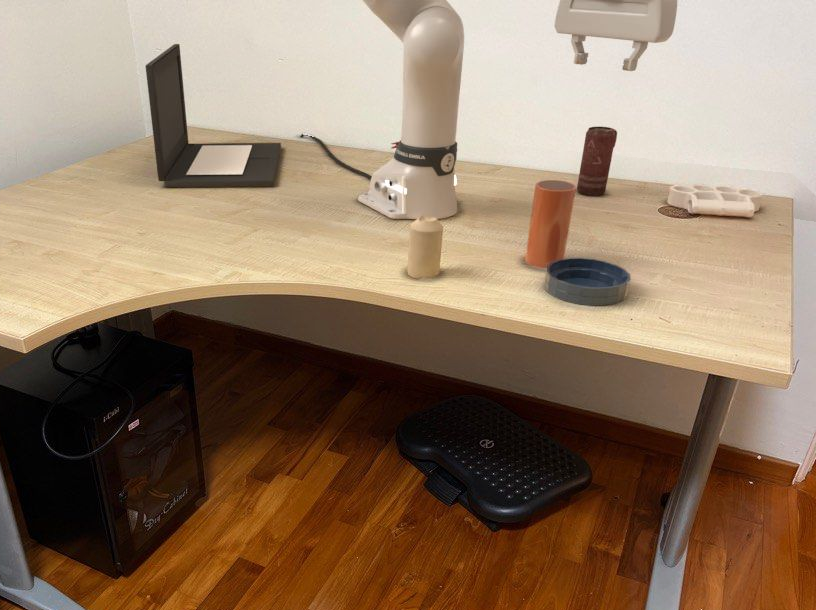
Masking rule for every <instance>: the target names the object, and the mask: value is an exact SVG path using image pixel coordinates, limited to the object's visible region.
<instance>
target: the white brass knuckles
mask: <svg viewBox="0 0 816 610" xmlns="http://www.w3.org/2000/svg"><path fill="white" fill-rule="evenodd" d="M763 196H764V193H763V192H762V191H760V190H758V189H753V188H744V187H743V188H741V187H735V186H731V185H724V184H705V183H695V184H673V185H671V186H670V188H669V191H668V197H667V200H666V202H667V204H668V205H669V206H672V207H674V208H677V209H684V210H687V213H689V214H691V215H695V214H698V215H699V214H700V215H712V216H719V217H722V216H729V217H741V218H743V217H744V218H748V219H749V218H752V217H754V214H755V212H758V211H759V210H760V207H761V204H762V200H763V198H764V197H763Z"/></svg>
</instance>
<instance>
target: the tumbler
mask: <svg viewBox="0 0 816 610" xmlns="http://www.w3.org/2000/svg"><path fill="white" fill-rule="evenodd" d="M576 191H577V185H576V184H574V183H572V182H569V181H565V180H557V179H545V180H540V181H537V182H536V183H535V185H534V193H533V200H532V206H531V207H532V208H531V214H530V220H529V228H528V229H529V230H528V236H527V243H526V249H525V250H526V251H525V257H524V261H525V263H527V264H528V265H530V266H532V267H536V268H541V269H546V268H547V266H548V265H549V264H550V263H551V262H554V261H556V260H559V259H565V258H566V257H565V256H566V251H567V245H568V238H569V232H570V228H571V227H570V226H571V220H572V216H573V214H572V213H573V209H574V203H575V198H576Z"/></svg>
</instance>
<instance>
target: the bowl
mask: <svg viewBox="0 0 816 610" xmlns="http://www.w3.org/2000/svg"><path fill="white" fill-rule="evenodd" d="M631 279H632V278H631V273H629V271H627V270H626V268H623V267H621V266H620V265H618V264H615V263H612V262H609V261H606V260H602V259H596V258H587V257H567V258H566V257H565V258H564V259H559V260H556V261H554V262H551V263H550V264H549V265H548V266H547V268H545V275H544V281H543V289H545V290H546V292H547V294H550V295H551V296H552V297H554V298H557V299H558V300H562V301H565V302H568V303H571V304H572V303H573V304H575V305H584V306H594V307H595V306H609V305H614V304H618V303H620V302H622V301H624V300H625V299H626V298H627V296H628V293H629V290H630V289H629V288H630V285H631Z"/></svg>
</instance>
